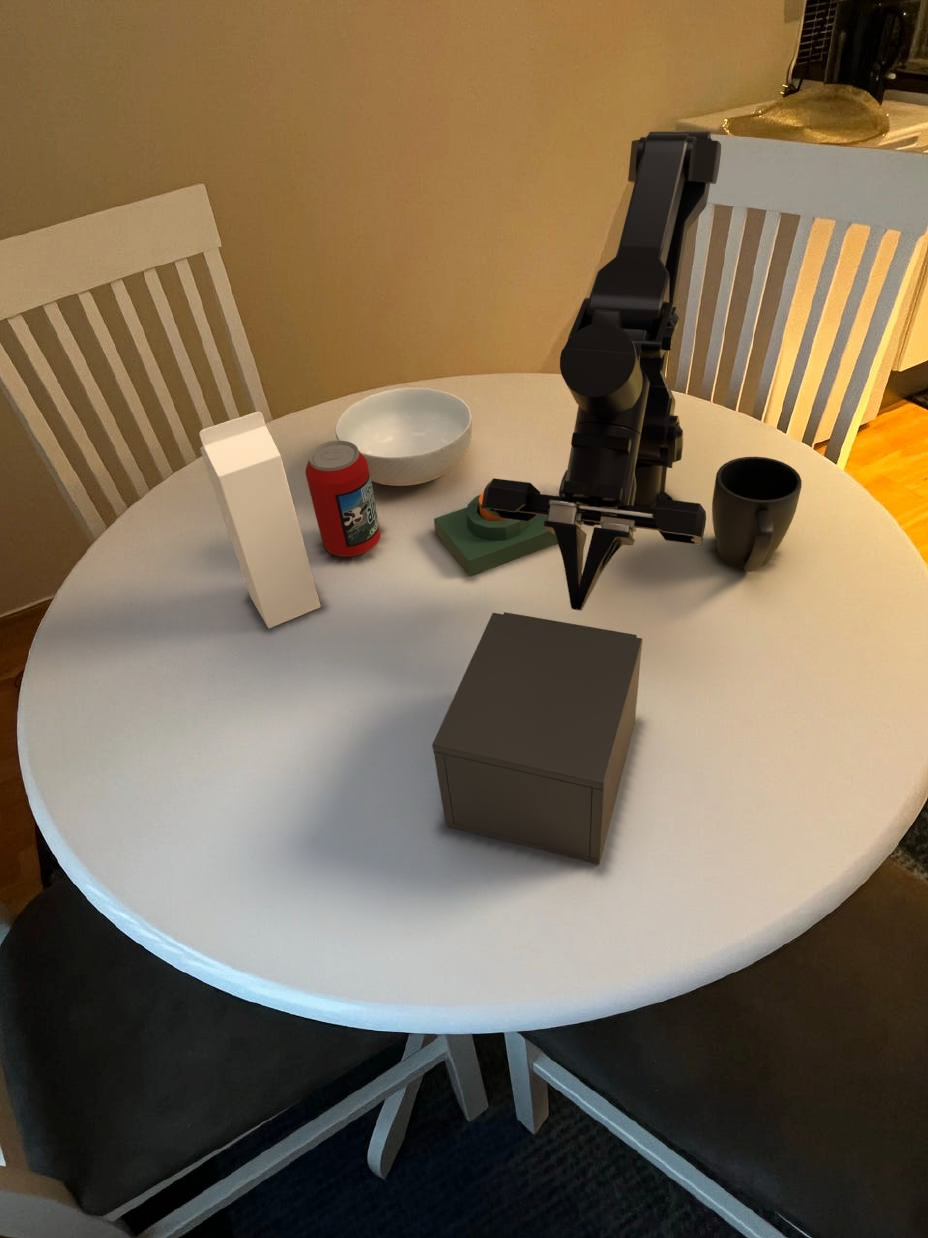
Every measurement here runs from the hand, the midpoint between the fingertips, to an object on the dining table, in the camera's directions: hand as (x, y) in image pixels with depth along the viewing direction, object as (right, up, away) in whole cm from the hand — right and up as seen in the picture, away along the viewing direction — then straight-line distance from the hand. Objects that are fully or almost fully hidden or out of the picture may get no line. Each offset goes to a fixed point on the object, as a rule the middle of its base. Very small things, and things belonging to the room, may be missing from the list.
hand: (576, 609), depth 72 cm
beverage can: (-23, +8, +24) cm, 34 cm away
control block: (-6, +9, +23) cm, 25 cm away
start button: (-6, +11, +20) cm, 24 cm away
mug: (+20, +5, +16) cm, 26 cm away
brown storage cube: (-3, -14, -2) cm, 14 cm away
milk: (-29, +1, +18) cm, 34 cm away
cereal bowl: (-17, +18, +35) cm, 43 cm away
